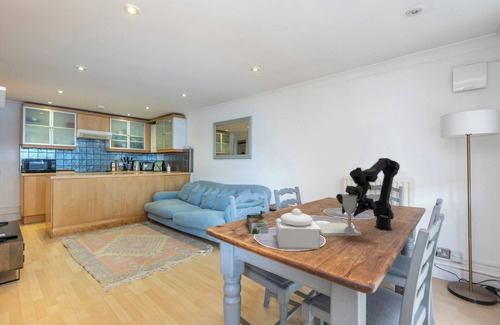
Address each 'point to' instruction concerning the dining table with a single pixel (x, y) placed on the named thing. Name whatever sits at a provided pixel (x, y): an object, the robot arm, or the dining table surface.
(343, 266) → the dining table surface
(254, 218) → the juice carton
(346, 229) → the chalice
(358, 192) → the robot arm
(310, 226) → the butter dish
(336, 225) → the platter
